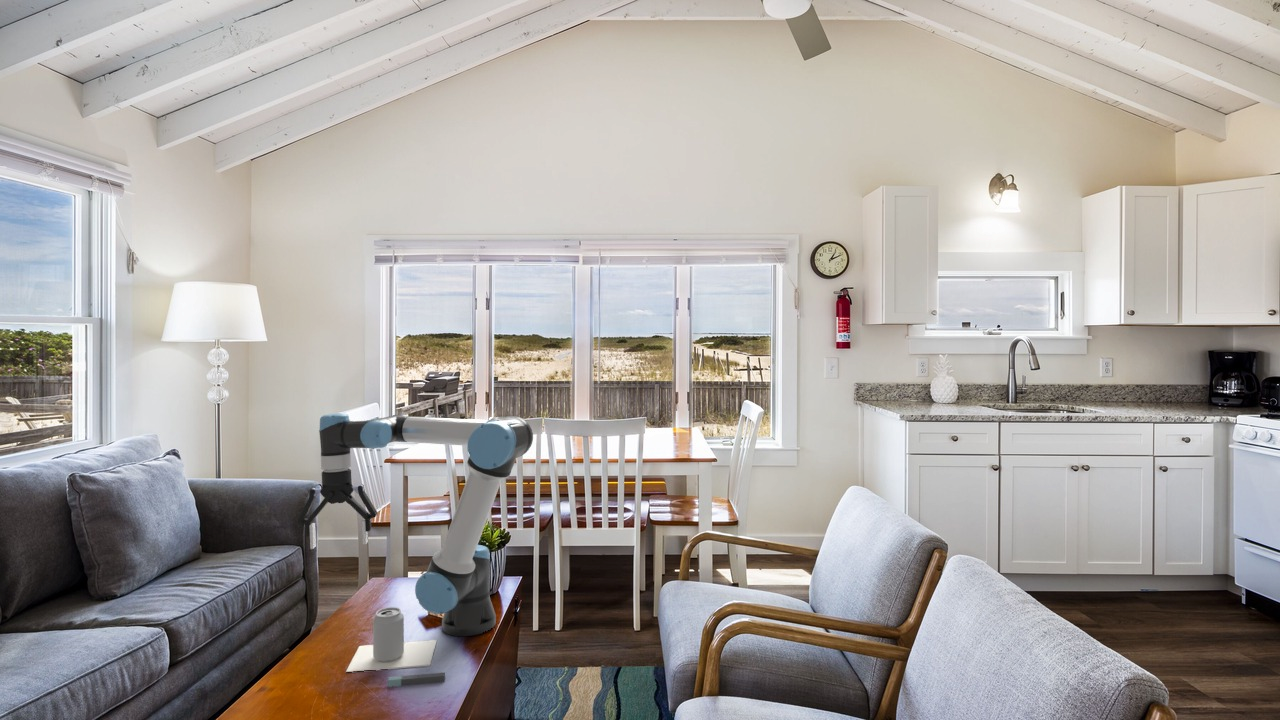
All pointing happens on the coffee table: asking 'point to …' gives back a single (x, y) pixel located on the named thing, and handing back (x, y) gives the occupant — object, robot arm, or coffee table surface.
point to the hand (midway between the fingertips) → (339, 545)
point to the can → (388, 634)
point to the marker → (416, 679)
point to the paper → (412, 657)
